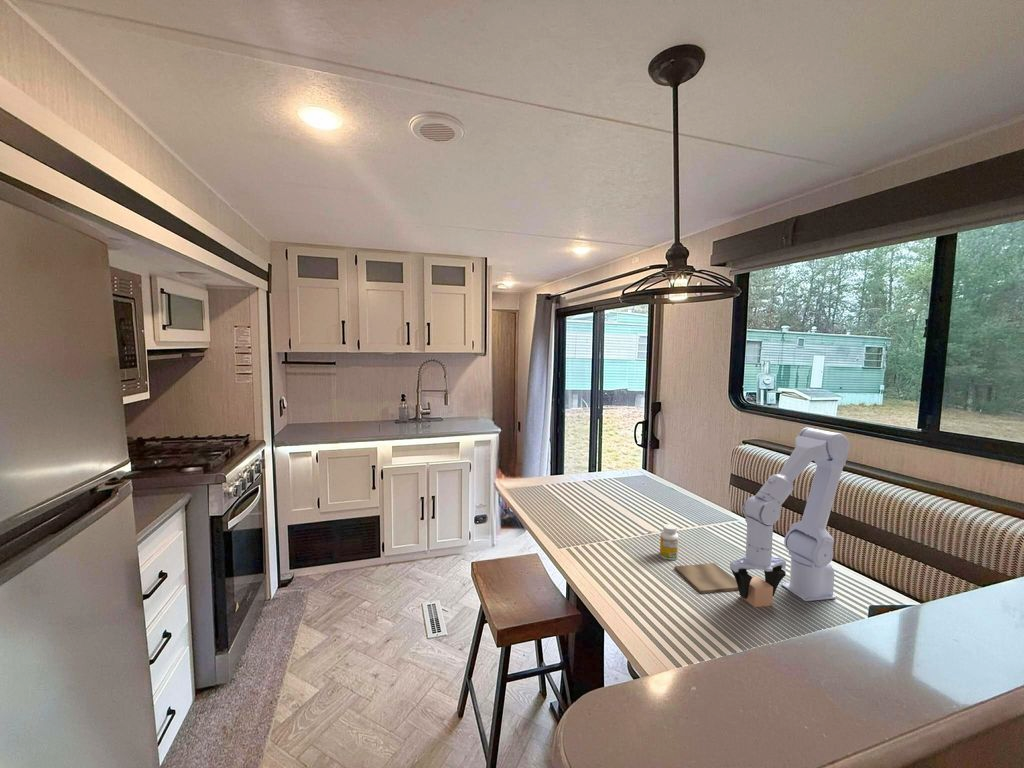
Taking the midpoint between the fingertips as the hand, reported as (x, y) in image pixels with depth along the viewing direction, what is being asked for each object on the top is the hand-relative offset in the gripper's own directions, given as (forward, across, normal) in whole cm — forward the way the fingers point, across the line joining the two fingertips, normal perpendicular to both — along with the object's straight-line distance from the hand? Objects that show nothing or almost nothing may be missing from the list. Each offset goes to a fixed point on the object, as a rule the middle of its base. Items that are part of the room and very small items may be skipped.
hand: (756, 595), depth 108 cm
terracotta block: (+2, 0, 0) cm, 2 cm away
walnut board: (+1, -6, +12) cm, 13 cm away
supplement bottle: (+2, -10, +26) cm, 27 cm away
